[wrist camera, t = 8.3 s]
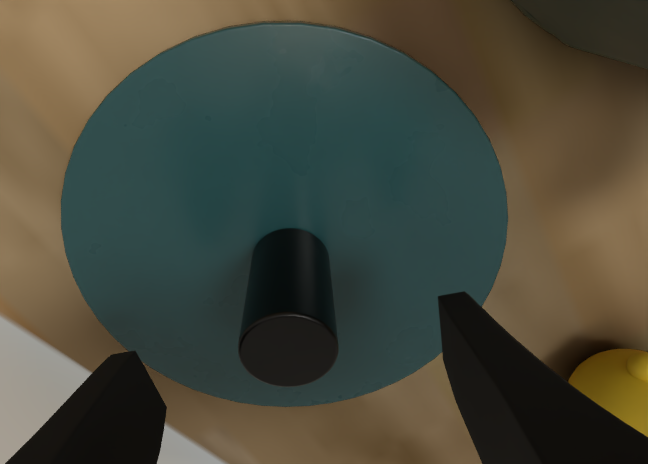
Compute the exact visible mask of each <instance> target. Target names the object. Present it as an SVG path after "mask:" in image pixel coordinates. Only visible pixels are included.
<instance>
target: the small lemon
mask: <svg viewBox="0 0 648 464" xmlns="http://www.w3.org/2000/svg"><path fill="white" fill-rule="evenodd" d="M568 383H569V384H571V385H572V386H573V387H575V388H576V389H577V390H579V391H580V392H582V393H583V394H584V395H586V396H587V397H588V398H590V399H591V400H593V401H594V402H595V403H597V404H598V405H600V406H601V407H603V408H604V409H606V410H607V411H609V412H610V413H612V414H613V415H614V416H616V417H617V418H619V419H620V420H622V421H623V422H625V423H627V424H628V425H630V426H631V427H633V428H634V429H636V430H637V431H639V432H641V433H642V434H644V435H645V436H647V437H648V352H645V351H642V350H635V349H613V350H608V351H604V352H600V353H597V354H595V355H593V356H591V357H589V358H588V359H586V360H585V361H584V362H582V363H581V364H580V365H579V366H578V367H577V368H576V370H575V371H574V372H573V374H572V375H571V376H570V378H569V380H568Z"/></svg>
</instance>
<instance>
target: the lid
mask: <svg viewBox="0 0 648 464" xmlns="http://www.w3.org/2000/svg"><path fill="white" fill-rule="evenodd" d="M507 224H508V211H507V196H506V189H505V185H504V180H503V176H502V171H501V167H500V164H499V162H498V159H497V157H496V154H495V152H494V149H493V147H492V144H491V142H490V140H489V138H488V136H487V135H486V133H485V131H484V130H483V128H482V126H481V125H480V123H479V121H478V120H477V118H476V116H475V115H474V114H473V113H472V111H471V110H470V109H469V108H468V107H467V105H466V104H465V103H464V102H463V101H462V99H461V98H460V97H459V96H458V94H457V93H456V92H455V91H454V90H453V89H451V88H450V87H449V86H448V85H447V84H446V83H445V82H444V81H442V80H441V79H440V78H439V77H438V76H437V75H436V74H434V73H433V72H432V71H431V70H430V69H428V68H427V67H425V66H424V65H422V64H421V63H419V62H418V61H416V60H415V59H413V58H412V57H410V56H408V55H407V54H405V53H404V52H402V51H401V50H399V49H397V48H394V47H392V46H390V45H388V44H386V43H383V42H381V41H379V40H377V39H375V38H373V37H370V36H367V35H364V34H361V33H357V32H354V31H350V30H347V29H344V28H340V27H337V26H331V25H324V24H317V23H310V22H303V21H262V22H255V23H248V24H241V25H234V26H228V27H225V28H221V29H218V30H215V31H211V32H208V33H205V34H201V35H198V36H195V37H192V38H190V39H188V40H186V41H184V42H182V43H180V44H178V45H175V46H173V47H171V48H169V49H167V50H165V51H163V52H161V53H160V54H158V55H157V56H155V57H154V58H152V59H151V60H149V61H148V62H146V63H145V64H143V65H142V66H140V67H139V68H137V69H136V70H134V71H133V72H132V73H130V74H129V75H128V76H127V77H126V78H125V79H124V80H123V81H122V82H121V83H120V84H119V85H118V86H116V87H115V88H114V89H113V90H112V91H111V92H110V93H109V94H108V95H107V96H106V97H105V99H104V100H103V101H102V103H101V104H100V105H99V107H98V108H97V109H96V110H95V112H94V113H93V114H92V116H91V117H90V118H89V120H88V121H87V123H86V125H85V127H84V129H83V131H82V133H81V135H80V136H79V138H78V140H77V142H76V144H75V146H74V149H73V152H72V155H71V158H70V161H69V164H68V167H67V170H66V173H65V178H64V185H63V191H62V198H61V229H62V235H63V241H64V247H65V252H66V256H67V259H68V262H69V265H70V268H71V271H72V274H73V277H74V279H75V281H76V283H77V285H78V287H79V289H80V291H81V293H82V295H83V297H84V299H85V301H86V302H87V304H88V305H89V307H90V308H91V310H92V311H93V313H94V314H95V316H96V317H97V319H98V320H99V321H100V322H101V323H102V325H103V326H104V327H105V328H106V329H107V330H108V331H109V333H110V334H111V335H112V336H113V337H114V338H115V339H116V340H117V341H118V342H119V343H120V344H121V345H123V346H124V347H125V348H126V349H127V350H128V351H136V353H137V354H138V356H139V358H140V360H141V361H142V362H144V363H145V364H147V365H148V366H149V367H151V368H152V369H154V370H156V371H157V372H159V373H161V374H163V375H164V376H166V377H168V378H170V379H171V380H173V381H176V382H178V383H180V384H182V385H185V386H187V387H189V388H191V389H194V390H197V391H200V392H203V393H206V394H209V395H212V396H215V397H218V398H222V399H227V400H231V401H235V402H240V403H247V404H254V405H261V406H279V407H293V406H311V405H319V404H327V403H333V402H338V401H342V400H347V399H351V398H355V397H358V396H361V395H364V394H368V393H371V392H374V391H376V390H379V389H381V388H383V387H386V386H388V385H391V384H393V383H395V382H397V381H399V380H401V379H403V378H404V377H406V376H408V375H410V374H412V373H414V372H415V371H417V370H418V369H420V368H421V367H423V366H424V365H426V364H427V363H429V362H430V361H432V360H433V359H434V358H436V357H437V356H438V355H439V354H440V353H441V352H442V341H441V329H440V318H439V307H438V296H441V295H446V294H452V293H457V292H463V291H465V292H466V293H468V294H469V295H470V296H471V297H472V298H473V299H474V300H475V301H476V302H477V303H478V304H479V305H480V306H481V307H482V305H483V303H484V302H485V300H486V298H487V296H488V294H489V293H490V291H491V289H492V287H493V284H494V281H495V279H496V276H497V274H498V271H499V269H500V266H501V261H502V257H503V253H504V249H505V245H506V235H507Z"/></svg>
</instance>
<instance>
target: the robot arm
mask: <svg viewBox="0 0 648 464" xmlns="http://www.w3.org/2000/svg"><path fill="white" fill-rule="evenodd" d="M438 307H439V318H440V329H441V341H442V352H443V361H444V364H445V368H446V371H447V374H448V378H449V381H450V384H451V387H452V391H453V394H454V397H455V400H456V403H457V405H458V408H459V410H460V412H461V415H462V417H463V419H464V422H465V424H466V426H467V429H468V431H469V433H470V436H471V438H472V440H473V443H474V445H475V447H476V450H477V452H478V454H479V457H480V459H481V461H482V464H648V437H647V436H645V435H644V434H642V433H641V432H639V431H637V430H636V429H634V428H633V427H631V426H630V425H628V424H627V423H625V422H623V421H622V420H620V419H619V418H617V417H616V416H614V415H613V414H612V413H610V412H609V411H607V410H606V409H604V408H603V407H601V406H600V405H598V404H597V403H595V402H594V401H593V400H591V399H590V398H588V397H587V396H586V395H584V394H583V393H582V392H580V391H579V390H577V389H576V388H575V387H573V386H572V385H571V384H569V383H568V382H567V381H566V380H564V379H563V378H562V377H560V376H559V375H558V374H557V373H555V372H554V371H553V370H551V369H550V368H549V367H548V366H547V365H545V364H544V363H543V362H542V361H540V360H539V359H538V358H537V357H536V356H534V355H533V354H532V353H531V352H530V351H529V350H527V349H526V348H525V347H524V346H523V345H522V344H521V343H519V342H518V341H517V340H516V339H515V338H514V337H513V336H511V335H510V334H509V333H508V332H507V331H506V330H505V329H504V328H503V327H502V326H501V325H499V324H498V323H497V322H496V321H495V320H494V319H493V318H492V317H491V316H490V315H489V314H488V313H487V312H486V311H485V310H484V309H483V308H482V307H481V306H480V305H479V304H478V303H477V302H476V301H475V300H474V299H473V298H472V297H471V296H470V295H469V294H468V293H466V292H465V291H463V292H457V293H452V294H446V295H441V296H438ZM166 409H167V407H166V405H165V403H164V401H163V400H162V398H161V396H160V394H159V392H158V390H157V389H156V387H155V385H154V383H153V381H152V380H151V378H150V376H149V374H148V372H147V371H146V369H145V367H144V365H143V363H142V362H141V360H140V358H139V356H138V354H137V353H136V351H129V352H124V353H118V354H113V355H110V356H109V357H108V358H107V359H106V360H105V361H104V362H103V363H102V364H101V365H100V366H99V367H98V368H97V369H96V370H95V371H94V372H93V373H92V374H91V375H90V376H89V377H88V378H87V380H86V381H85V382H84V383H83V384H82V385H81V386H80V387H79V388H78V389H77V390H76V391H75V392H74V393H73V394H72V395H71V397H70V398H69V399H68V400H67V401H66V402H65V403H64V404H63V405H62V406H61V407H60V408H59V409H58V410H57V411H56V413H54V415H53V416H52V417H51V418H50V419H49V420H48V421H47V422H46V423H45V424H44V425H43V426H42V427H41V428H40V429H39V430H38V431H37V432H36V434H35V435H34V436H33V437H32V438H31V439H30V440H29V441H27V442H26V443H25V444H24V445H23V446H22V447H21V448H20V450H18V451H17V452H16V453H15V455H14V456H13V457H11V458H10V459H9V460H8V461H7V462H6V463H5V464H157V460H158V456H159V453H160V448H161V442H162V437H163V431H164V424H165V417H166Z"/></svg>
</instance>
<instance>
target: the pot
mask: <svg viewBox="0 0 648 464" xmlns="http://www.w3.org/2000/svg"><path fill="white" fill-rule="evenodd" d="M511 1H512V2H513V3H514V4H515V5H516V7H517V8H518V9H519V10H520V11H521V12H522V13H523V14H524V15H525V16H527V17H528V18H529V19H531V20H532V21H533V22H535V23H536V24H537V25H539V26H540V27H541V28H543V29H544V30H545V31H547V32H549V33H551V34H553V35H554V36H556V37H557V38H558V39H559V40H560V41H561V42H562V43H563V44H566V45H568V46H569V47H573V48H576V49H579V50H583V51H586V52H590V53H593V54H597V55H600V56H604V57H607V58H611V59H614V60H617V61H621V62H624V63H628V64H631V65H635V66H638V67H642V68H645V69H648V0H511Z"/></svg>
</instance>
